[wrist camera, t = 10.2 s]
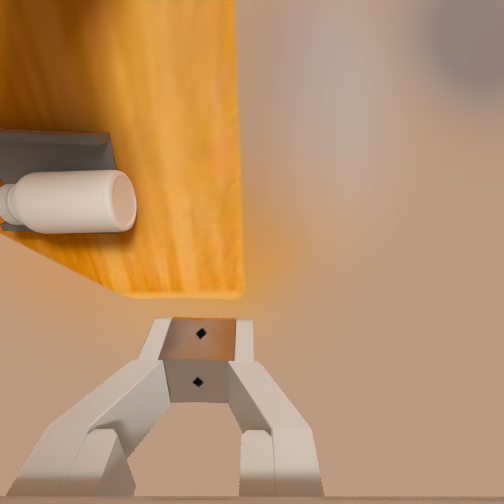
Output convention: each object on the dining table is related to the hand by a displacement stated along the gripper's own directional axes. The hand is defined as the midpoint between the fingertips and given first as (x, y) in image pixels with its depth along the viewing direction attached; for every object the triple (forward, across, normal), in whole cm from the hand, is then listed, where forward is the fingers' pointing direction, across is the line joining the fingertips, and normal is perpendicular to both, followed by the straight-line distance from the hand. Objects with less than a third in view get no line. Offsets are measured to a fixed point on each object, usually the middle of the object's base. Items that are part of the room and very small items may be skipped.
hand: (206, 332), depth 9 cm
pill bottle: (+28, +14, +6) cm, 32 cm away
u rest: (+33, +25, +5) cm, 42 cm away
